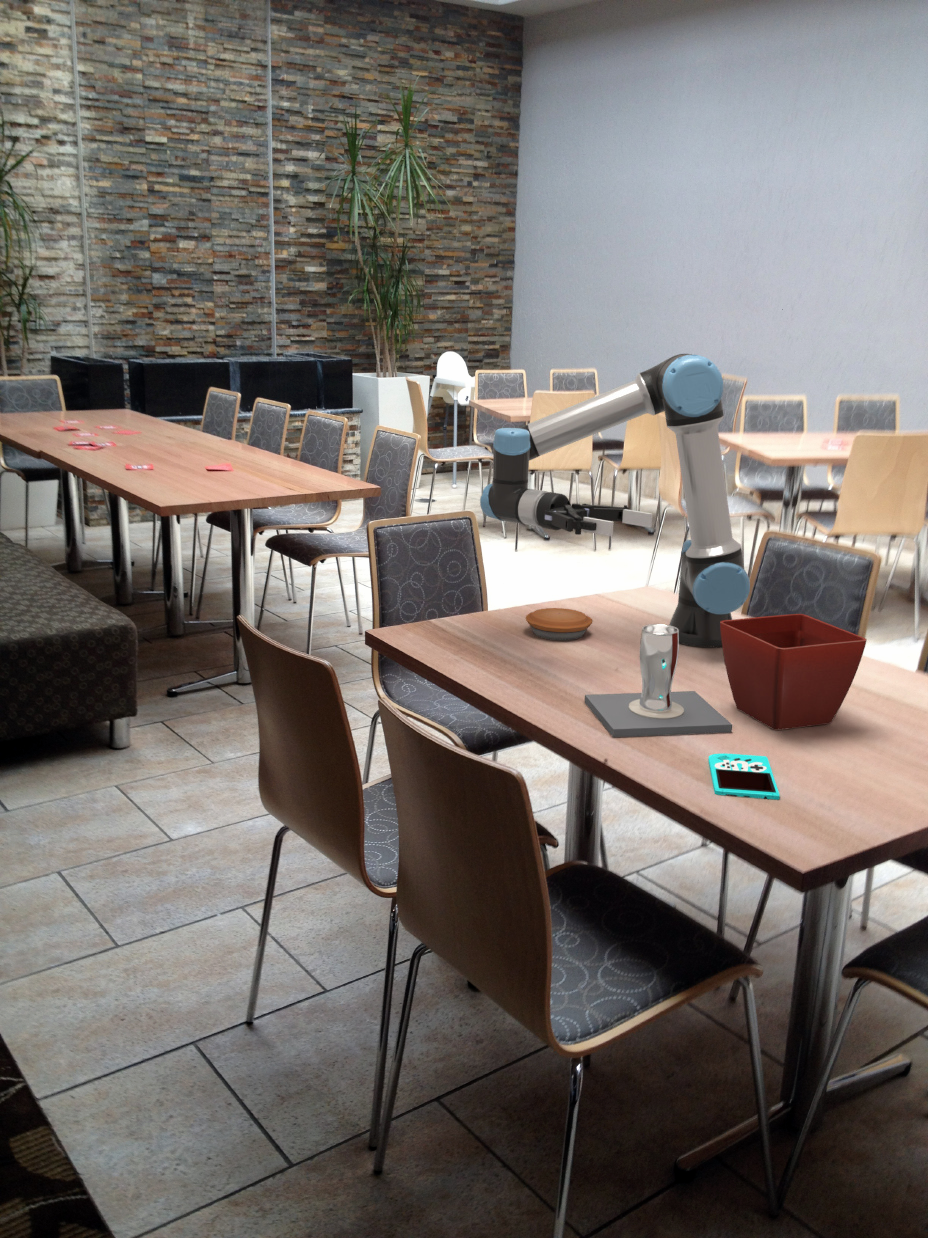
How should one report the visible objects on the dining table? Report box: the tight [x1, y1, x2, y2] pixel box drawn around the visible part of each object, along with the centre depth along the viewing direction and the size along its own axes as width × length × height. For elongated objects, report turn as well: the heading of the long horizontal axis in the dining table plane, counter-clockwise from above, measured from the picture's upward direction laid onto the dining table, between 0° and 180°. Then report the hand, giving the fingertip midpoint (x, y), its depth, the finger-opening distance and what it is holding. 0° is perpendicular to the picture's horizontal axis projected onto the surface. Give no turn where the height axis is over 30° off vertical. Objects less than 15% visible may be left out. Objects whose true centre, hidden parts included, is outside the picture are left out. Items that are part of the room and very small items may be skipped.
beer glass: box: [638, 623, 680, 713], centre depth 199 cm, size 7×7×15 cm
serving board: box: [583, 690, 733, 738], centre depth 201 cm, size 22×18×2 cm
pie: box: [525, 607, 593, 641], centre depth 252 cm, size 15×16×5 cm
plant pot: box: [720, 613, 868, 731], centre depth 202 cm, size 19×19×17 cm
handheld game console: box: [707, 752, 781, 801], centre depth 176 cm, size 10×16×1 cm, turn 172°
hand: (632, 524), depth 212 cm, fingers open, 13 cm apart
